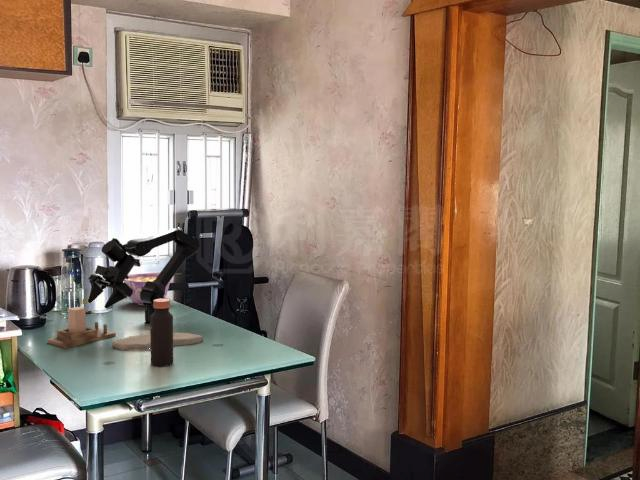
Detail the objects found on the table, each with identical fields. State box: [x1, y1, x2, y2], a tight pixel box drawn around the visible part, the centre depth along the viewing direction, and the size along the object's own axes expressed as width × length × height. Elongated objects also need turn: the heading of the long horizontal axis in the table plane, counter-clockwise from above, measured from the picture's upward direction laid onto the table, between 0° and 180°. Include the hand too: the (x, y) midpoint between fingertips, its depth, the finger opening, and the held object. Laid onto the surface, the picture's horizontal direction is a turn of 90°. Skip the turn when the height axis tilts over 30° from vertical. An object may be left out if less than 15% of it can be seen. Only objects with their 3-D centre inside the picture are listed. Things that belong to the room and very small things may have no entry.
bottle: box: [149, 298, 174, 368], centre depth 205 cm, size 7×7×20 cm
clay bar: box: [67, 306, 87, 334], centre depth 230 cm, size 4×4×10 cm
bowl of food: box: [123, 273, 171, 307], centre depth 290 cm, size 20×20×12 cm
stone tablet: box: [111, 331, 204, 351], centre depth 231 cm, size 16×30×2 cm, turn 120°
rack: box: [47, 321, 117, 349], centre depth 232 cm, size 20×10×4 cm, turn 144°
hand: (97, 305), depth 237 cm, fingers open, 9 cm apart
